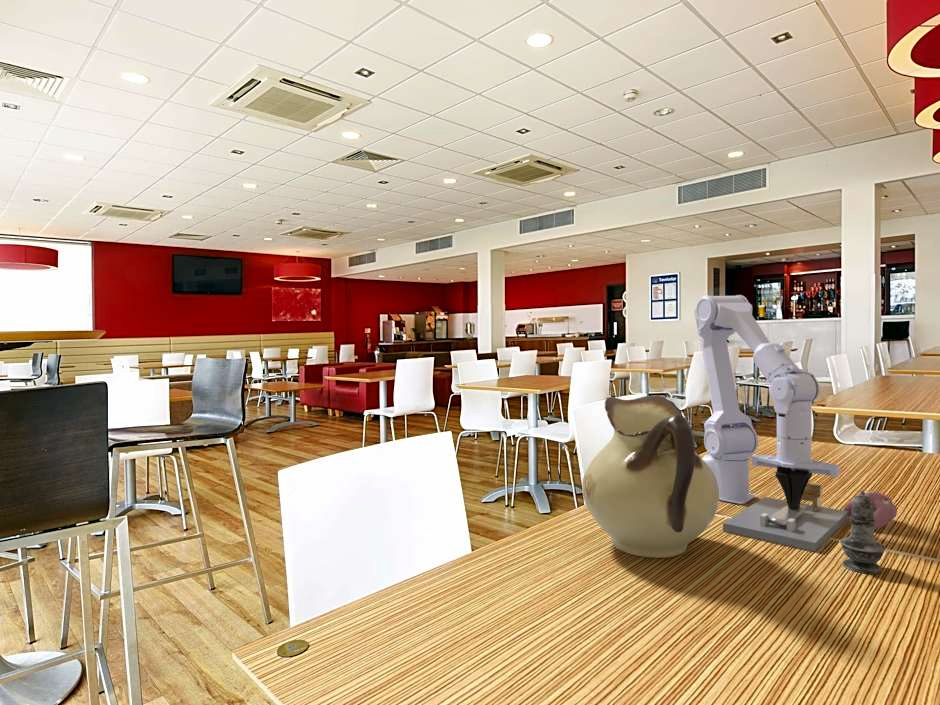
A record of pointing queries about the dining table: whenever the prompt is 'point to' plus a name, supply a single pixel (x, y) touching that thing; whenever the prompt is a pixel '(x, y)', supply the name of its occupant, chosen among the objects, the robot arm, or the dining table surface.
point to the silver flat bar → (786, 515)
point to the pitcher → (650, 480)
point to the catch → (813, 495)
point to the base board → (798, 532)
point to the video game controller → (878, 508)
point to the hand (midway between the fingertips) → (793, 508)
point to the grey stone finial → (862, 538)
